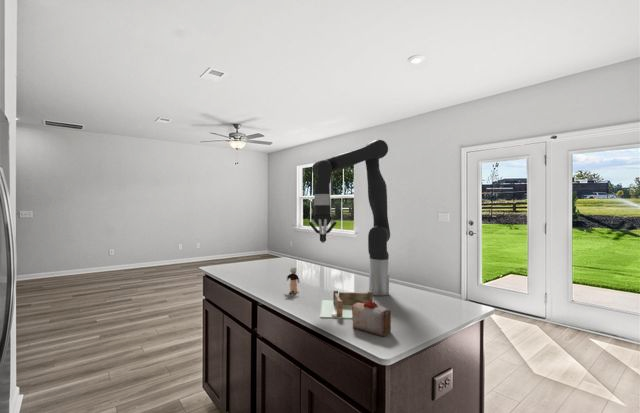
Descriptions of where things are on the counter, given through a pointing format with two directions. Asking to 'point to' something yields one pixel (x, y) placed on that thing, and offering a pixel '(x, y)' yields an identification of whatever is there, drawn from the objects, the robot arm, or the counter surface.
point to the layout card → (334, 310)
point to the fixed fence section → (355, 297)
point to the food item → (371, 318)
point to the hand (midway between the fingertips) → (322, 242)
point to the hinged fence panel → (338, 303)
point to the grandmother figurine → (293, 280)
